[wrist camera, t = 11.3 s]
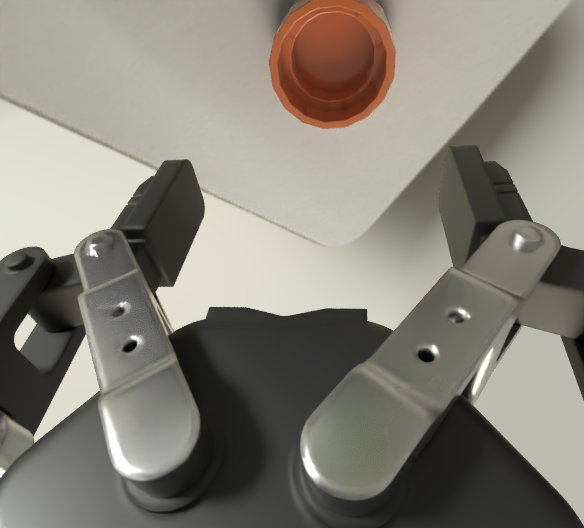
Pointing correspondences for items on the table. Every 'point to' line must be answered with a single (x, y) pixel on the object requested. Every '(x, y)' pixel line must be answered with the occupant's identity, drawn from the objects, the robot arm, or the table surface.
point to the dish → (332, 61)
